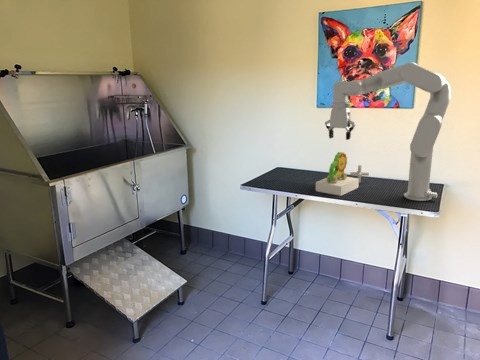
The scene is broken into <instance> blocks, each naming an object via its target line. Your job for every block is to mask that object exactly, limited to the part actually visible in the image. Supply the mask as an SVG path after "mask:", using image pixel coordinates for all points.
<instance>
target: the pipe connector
mask: <svg viewBox="0 0 480 360" xmlns="http://www.w3.org/2000/svg"><path fill="white" fill-rule="evenodd" d="M349 173H350V174H349V175H350V176H357V178H358V179H359V184H360V183H361V182H362V177H363V176H369V175H370V173H369V172H367V171H366V172H364V171H363V172H362V164H358V167H357V171H351V172H349Z"/></svg>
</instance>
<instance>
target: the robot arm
mask: <svg viewBox="0 0 480 360" xmlns="http://www.w3.org/2000/svg"><path fill="white" fill-rule="evenodd" d="M405 83H406V84H409V85H412V86H414V87H415V88H418V89H420V90H422V91H424V92H427V93H429V95H430V96H429V100H428V102H427V105H426V107H425V111H424V113H423V114H422V117H421V118H420V120H419V121H418V123H417V126H416V129H415V132H414V134H413V136H412V139H411V142H410V144H409V149H410V159H409V171H408V172H409V173H408V184H407V185H408V186H407V191H406V192H405V193H403V197H404V198H406V199H408V200H409V201H410V200H411V201H417V202H424V201H426V202H427V201H431V200H432V198H438V193H437V192H434V191H433V192H432V191H431V188H430V181H431V170H432V162H433V152H434V145H435V144H436V141H437V139H438V137H439V134H440V131H441V129H442V125H443V119H444V118H445V114H446V113H447V108H448V106H449V104H450V100H451V97H452V95H451V93H452V91H451V86H450V84H449V82H448V81H447V80H446V78H445V77H444V76H442V75H441V74H440V73H435V72H433V71H431V70H429V69H426V68H425V67H422V66H421V65H419V64H418V63H416V62H406V63H404V64H401V65H398V66H395V67H392V68H387V69H385V70H382V71H379V72H378V73H376V74H373V75H371V76H368V77H365V78H362V79H358V80H357V79H355V80H351V81H350V80H349V81H345V80H343V81H342V80H341V81H335V82H334V83H333V86H332V87H333V93H332V108H331V112H330V115H329V116H330V118H329V120H326V121H325V122H324V125H325V127H326V129H327V131H328V138H329V139H333V138H334V129H345V130H346V131H345V140H346V141H348V140H350V139H351V137H352V136H351V135H352V133H351V132H352V131H353V130H354V129H355V126H356V122H355V121H353V120H351V109H350V108H349V107H351V104H350V103H349V96H352V97H358V96H361V95H364V94H368V93H371V92H374V91H379V90H385V89H389V88H392V87H393V88H394V87H395V86H400V85H403V84H405Z"/></svg>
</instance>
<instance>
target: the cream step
mask: <svg viewBox="0 0 480 360" xmlns="http://www.w3.org/2000/svg"><path fill="white" fill-rule="evenodd" d="M359 184H360V183H359V179H358V177H351V176H347V177H346V179H345V180H344V179H342V178H339V179H338V181H337V183H333V182H332V181H331V182H327V177H325V178H322V179H320V180H318V181H315V191H316V192H319V193H323V194H324V193H325V194H328V195H329V194H330V195H335V196H340V197H341V196H343V195H346V194H348V193H350V192H352V191H354V190H357V189H358V188H359Z"/></svg>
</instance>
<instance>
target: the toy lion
mask: <svg viewBox="0 0 480 360" xmlns="http://www.w3.org/2000/svg"><path fill="white" fill-rule="evenodd" d="M347 162H348V157H347V154H346V153H345V152H342V151H338V152H337V153H336V154H335V155H334V159H333V161H332V162H331V163H330V165H329V170H328V175H327V177H326V178H327V182H331V181H332V182H333V183H337V181H338V179H339V178H342V179H344V180H345V179H346V177H348V174H347V173H345V169H346V168H347V164H348V163H347Z"/></svg>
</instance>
